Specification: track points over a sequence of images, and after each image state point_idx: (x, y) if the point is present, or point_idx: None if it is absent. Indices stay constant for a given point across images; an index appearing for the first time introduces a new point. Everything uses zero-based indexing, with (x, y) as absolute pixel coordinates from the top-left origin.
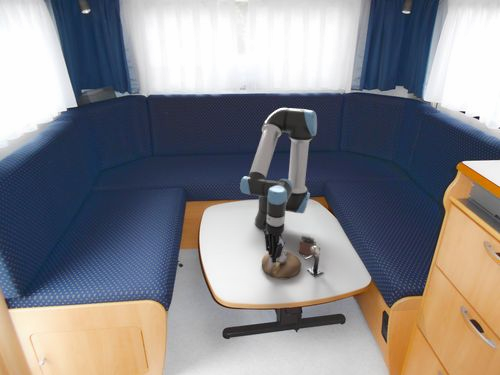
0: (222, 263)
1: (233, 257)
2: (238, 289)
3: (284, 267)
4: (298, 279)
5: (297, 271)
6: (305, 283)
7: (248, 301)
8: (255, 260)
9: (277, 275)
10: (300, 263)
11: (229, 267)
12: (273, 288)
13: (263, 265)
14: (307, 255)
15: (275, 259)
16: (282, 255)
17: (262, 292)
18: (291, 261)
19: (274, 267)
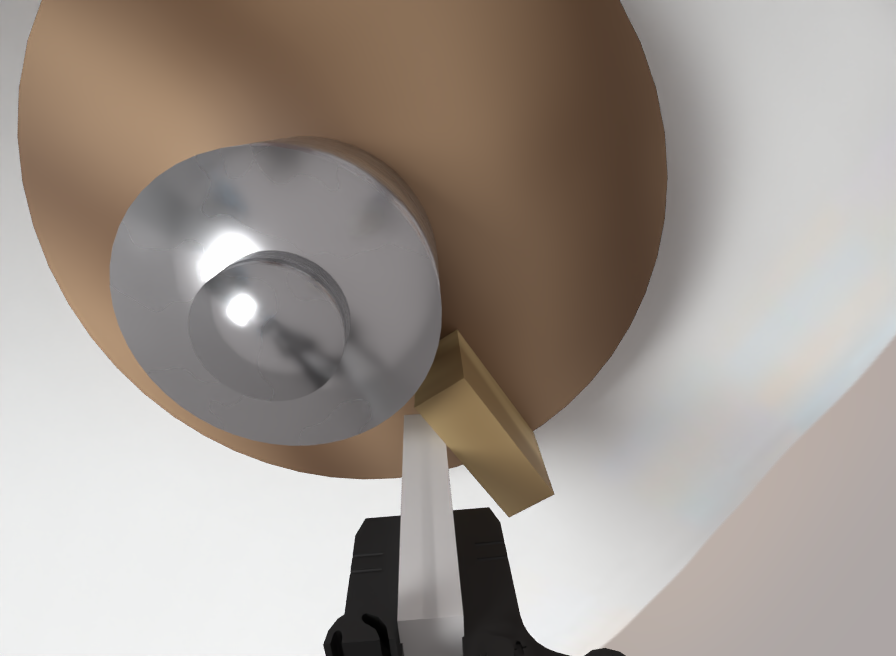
0: (112, 649)
1: (37, 566)
2: None
3: (481, 268)
4: (690, 167)
5: (661, 140)
6: (803, 132)
7: (602, 643)
8: (142, 422)
9: (547, 411)
10: None
11: (184, 628)
12: (613, 466)
13: (319, 468)
14: None
15: (511, 586)
16: (344, 283)
17: (592, 550)
18: (412, 67)
19: (514, 495)
